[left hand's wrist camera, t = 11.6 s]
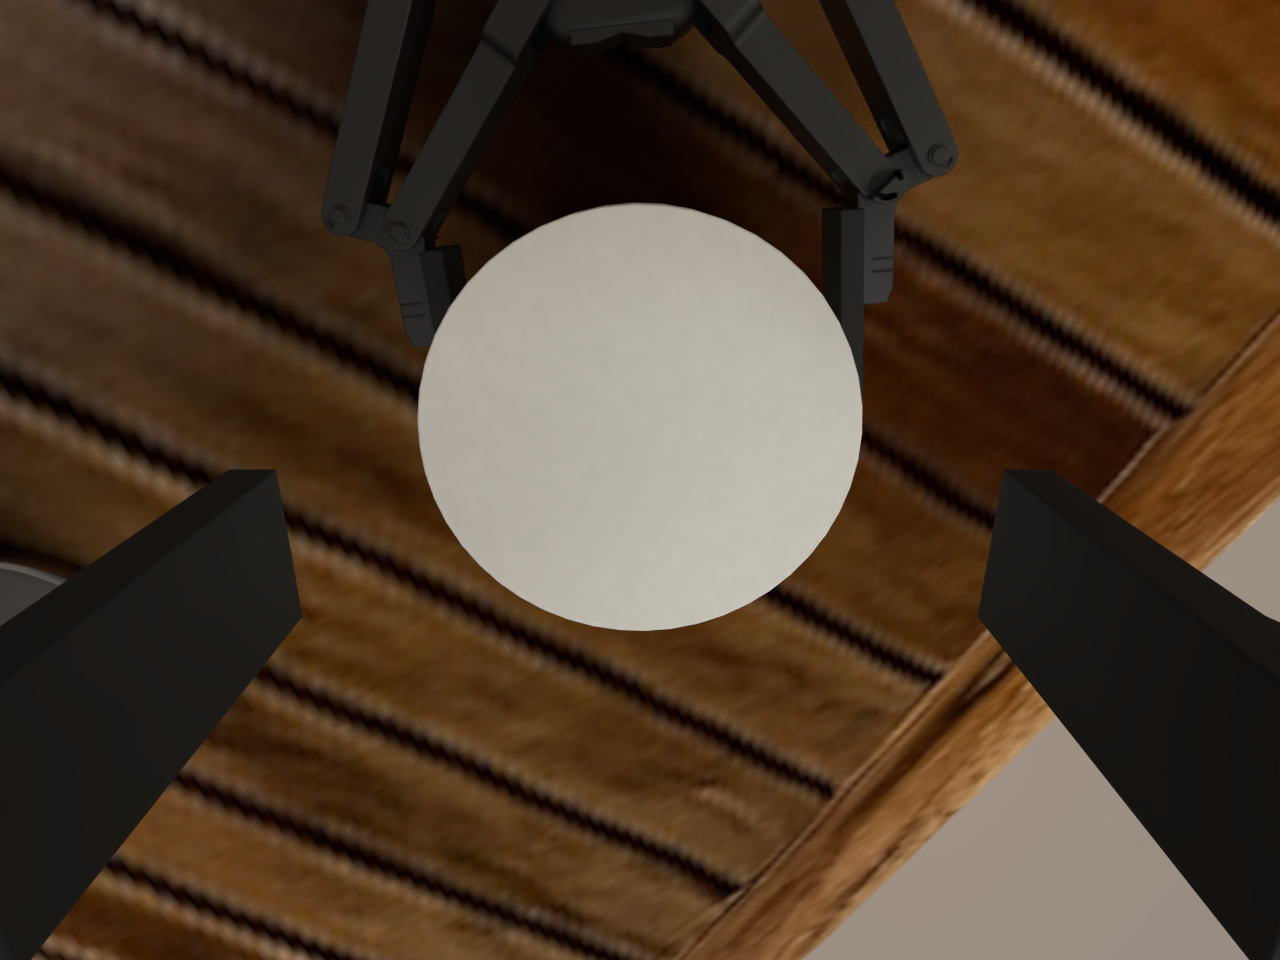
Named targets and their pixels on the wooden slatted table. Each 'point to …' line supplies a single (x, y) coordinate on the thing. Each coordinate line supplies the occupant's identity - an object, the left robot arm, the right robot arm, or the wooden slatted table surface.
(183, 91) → the wooden slatted table surface
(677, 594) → the lid
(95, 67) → the wooden slatted table surface
